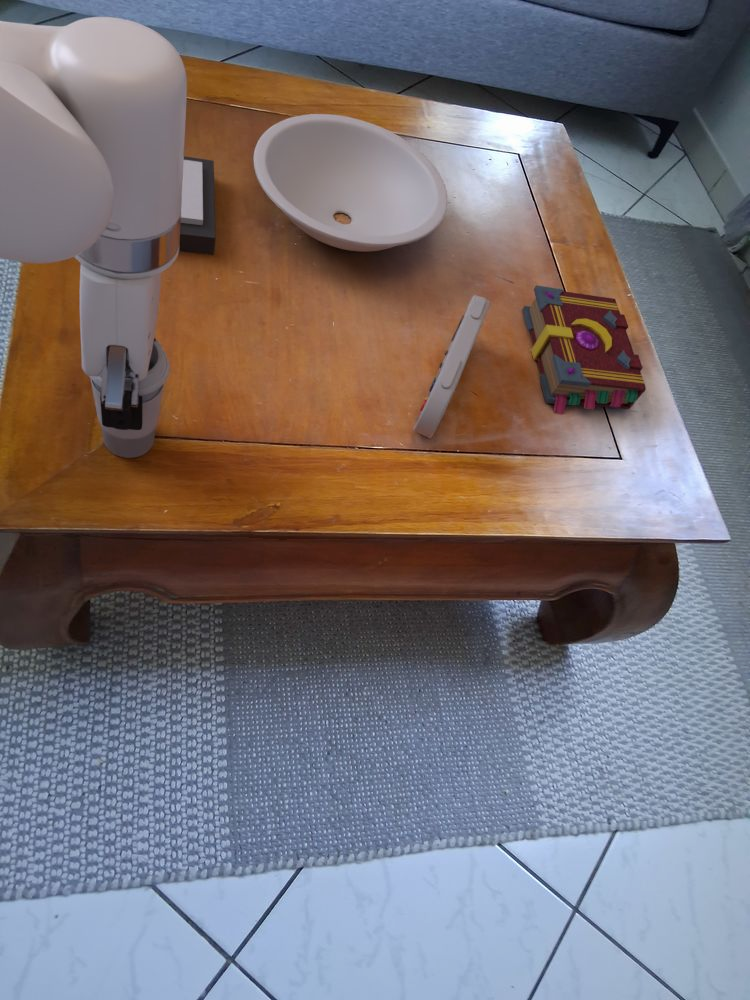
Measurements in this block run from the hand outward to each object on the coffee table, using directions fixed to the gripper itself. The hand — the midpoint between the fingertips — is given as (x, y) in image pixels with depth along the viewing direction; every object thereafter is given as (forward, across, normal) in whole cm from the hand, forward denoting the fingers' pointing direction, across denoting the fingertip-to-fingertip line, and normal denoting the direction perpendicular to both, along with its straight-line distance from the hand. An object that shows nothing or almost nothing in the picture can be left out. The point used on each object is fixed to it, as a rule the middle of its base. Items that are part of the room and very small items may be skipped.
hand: (127, 389), depth 66 cm
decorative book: (+7, -18, +51) cm, 54 cm away
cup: (+7, 0, 0) cm, 7 cm away
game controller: (+7, -11, +32) cm, 35 cm away
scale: (+7, -34, -1) cm, 34 cm away
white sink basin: (+7, -38, +22) cm, 44 cm away
